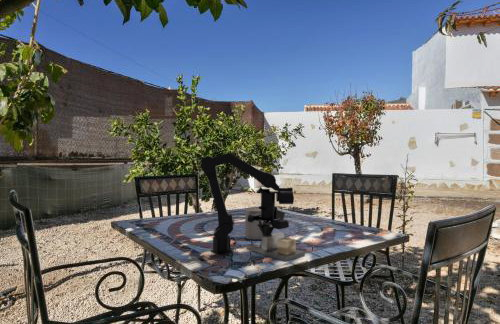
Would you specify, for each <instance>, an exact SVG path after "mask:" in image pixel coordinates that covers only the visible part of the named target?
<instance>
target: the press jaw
mask: <svg viewBox="0 0 500 324" xmlns="http://www.w3.org/2000/svg"><path fill="white" fill-rule="evenodd" d="M281 238H285V233H283V232H280V231H278V232H275V233H271V234H269V235H265V236H261V239H260V240H261V241H260V242H261V246H260V247H261V249H264V250H272V249H273V248H277V239H281Z"/></svg>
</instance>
